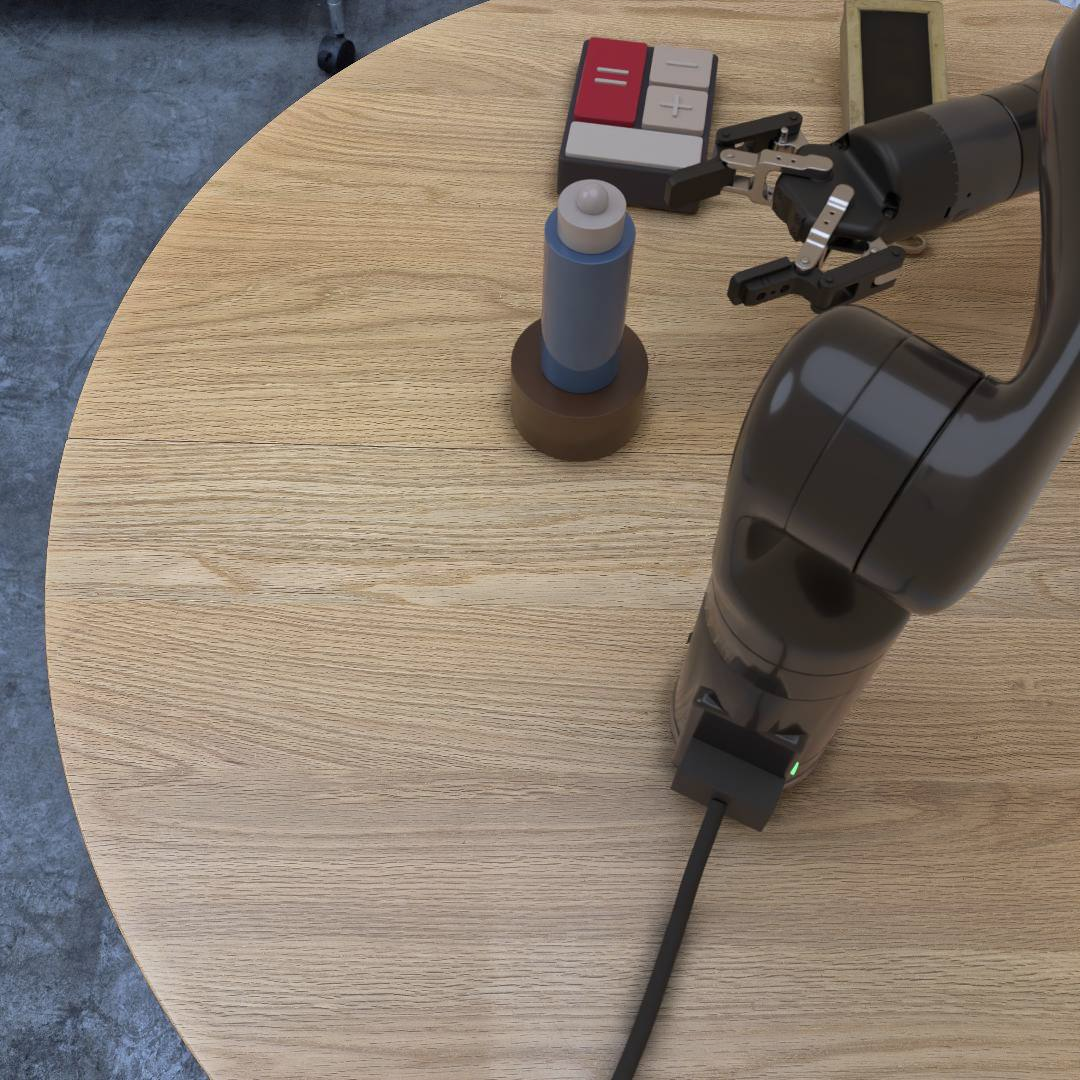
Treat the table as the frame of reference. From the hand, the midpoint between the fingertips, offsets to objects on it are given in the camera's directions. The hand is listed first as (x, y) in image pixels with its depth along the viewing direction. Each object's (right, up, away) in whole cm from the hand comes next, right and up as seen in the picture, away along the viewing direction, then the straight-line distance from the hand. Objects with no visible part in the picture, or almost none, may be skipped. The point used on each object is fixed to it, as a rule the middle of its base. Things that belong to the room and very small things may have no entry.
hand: (698, 241), depth 73 cm
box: (+18, +13, +23) cm, 32 cm away
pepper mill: (-7, -6, +6) cm, 11 cm away
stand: (-7, -9, +10) cm, 15 cm away
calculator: (-2, +14, +23) cm, 27 cm away
